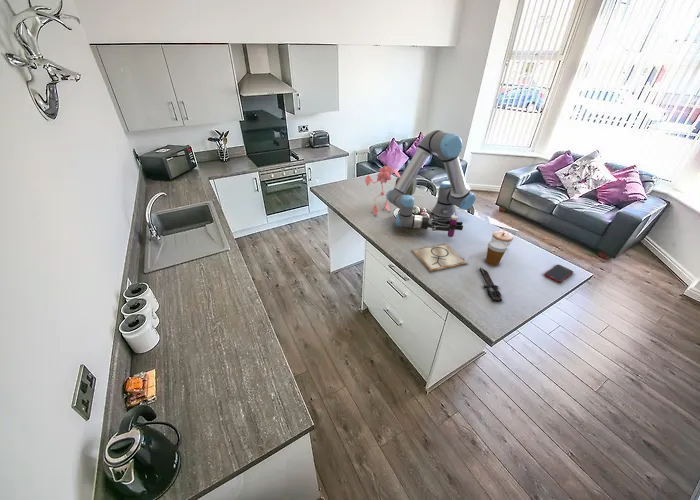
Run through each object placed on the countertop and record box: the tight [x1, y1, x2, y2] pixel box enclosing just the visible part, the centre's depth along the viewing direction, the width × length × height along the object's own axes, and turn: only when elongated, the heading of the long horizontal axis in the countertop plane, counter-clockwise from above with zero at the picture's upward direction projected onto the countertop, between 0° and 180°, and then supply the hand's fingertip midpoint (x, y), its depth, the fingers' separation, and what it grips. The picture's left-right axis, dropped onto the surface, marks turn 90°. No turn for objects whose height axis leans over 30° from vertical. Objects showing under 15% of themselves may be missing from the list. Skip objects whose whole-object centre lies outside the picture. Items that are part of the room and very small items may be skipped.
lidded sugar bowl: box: [491, 230, 514, 248], centre depth 167 cm, size 11×11×9 cm
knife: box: [478, 267, 503, 303], centre depth 141 cm, size 25×6×1 cm, turn 171°
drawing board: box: [412, 243, 468, 273], centre depth 160 cm, size 22×20×1 cm
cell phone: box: [543, 264, 574, 283], centre depth 147 cm, size 8×15×1 cm, turn 124°
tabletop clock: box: [394, 166, 418, 197], centre depth 219 cm, size 14×9×25 cm, turn 58°
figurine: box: [364, 164, 401, 220], centre depth 194 cm, size 15×26×35 cm, turn 118°
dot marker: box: [447, 214, 458, 238], centre depth 170 cm, size 4×4×13 cm
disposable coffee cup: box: [485, 239, 509, 267], centre depth 153 cm, size 10×10×12 cm
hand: (462, 226), depth 169 cm, fingers closed on dot marker, 4 cm apart
